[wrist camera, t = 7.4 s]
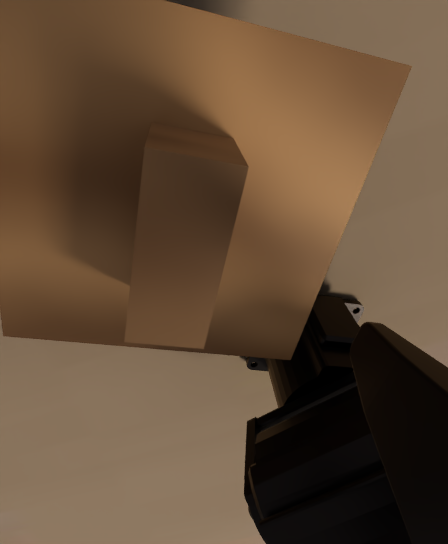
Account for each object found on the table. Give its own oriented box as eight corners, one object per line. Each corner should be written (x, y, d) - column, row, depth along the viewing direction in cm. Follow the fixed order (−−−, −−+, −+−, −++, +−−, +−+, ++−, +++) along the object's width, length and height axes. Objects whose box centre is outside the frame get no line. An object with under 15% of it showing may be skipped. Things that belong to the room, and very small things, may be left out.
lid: (285, 344, 18) (309, 416, 15) (12, 319, 16) (-33, 398, 12) (395, 64, 12) (480, 75, 9) (-22, -47, 10) (-129, -92, 6)
